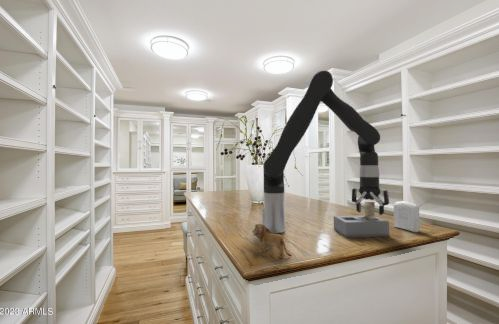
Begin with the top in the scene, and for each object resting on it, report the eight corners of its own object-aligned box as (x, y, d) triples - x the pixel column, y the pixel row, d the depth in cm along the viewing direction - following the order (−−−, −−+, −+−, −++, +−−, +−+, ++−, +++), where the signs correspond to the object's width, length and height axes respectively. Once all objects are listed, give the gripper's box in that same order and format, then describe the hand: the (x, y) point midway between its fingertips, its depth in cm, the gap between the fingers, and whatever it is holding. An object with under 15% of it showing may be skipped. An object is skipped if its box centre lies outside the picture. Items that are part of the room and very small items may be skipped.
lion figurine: (250, 250, 82) (249, 224, 82) (259, 246, 86) (258, 221, 86) (287, 260, 73) (287, 231, 73) (295, 255, 77) (295, 227, 77)
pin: (364, 230, 101) (363, 202, 101) (365, 228, 104) (364, 201, 104) (374, 231, 99) (374, 202, 99) (375, 229, 102) (375, 201, 102)
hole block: (346, 237, 95) (345, 222, 95) (333, 229, 107) (333, 216, 107) (389, 236, 96) (389, 221, 96) (372, 228, 108) (372, 215, 108)
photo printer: (421, 231, 102) (420, 202, 102) (415, 232, 100) (414, 203, 100) (398, 226, 111) (397, 199, 111) (392, 227, 110) (391, 200, 110)
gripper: (349, 175, 104) (349, 212, 103) (385, 176, 94) (386, 217, 94) (355, 175, 109) (355, 210, 109) (390, 175, 100) (390, 214, 99)
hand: (369, 213), depth 101 cm, fingers open, 8 cm apart
